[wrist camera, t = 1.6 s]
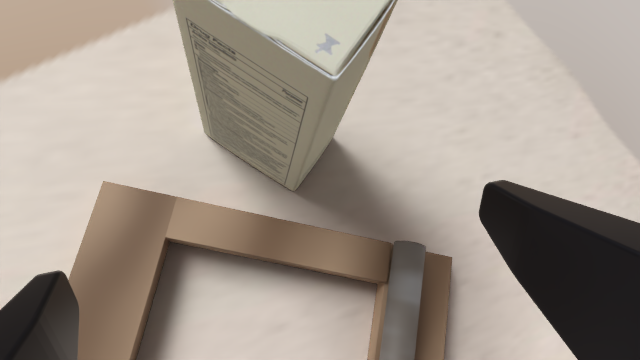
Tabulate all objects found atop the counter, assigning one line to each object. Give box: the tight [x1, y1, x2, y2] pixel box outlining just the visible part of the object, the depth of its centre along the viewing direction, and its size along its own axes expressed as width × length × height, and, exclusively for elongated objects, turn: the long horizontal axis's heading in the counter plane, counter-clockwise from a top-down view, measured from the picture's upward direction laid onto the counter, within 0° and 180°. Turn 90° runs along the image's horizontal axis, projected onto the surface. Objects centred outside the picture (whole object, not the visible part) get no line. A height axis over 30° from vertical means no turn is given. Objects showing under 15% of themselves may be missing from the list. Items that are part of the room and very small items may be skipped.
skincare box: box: [173, 0, 397, 191], centre depth 19 cm, size 6×4×12 cm
